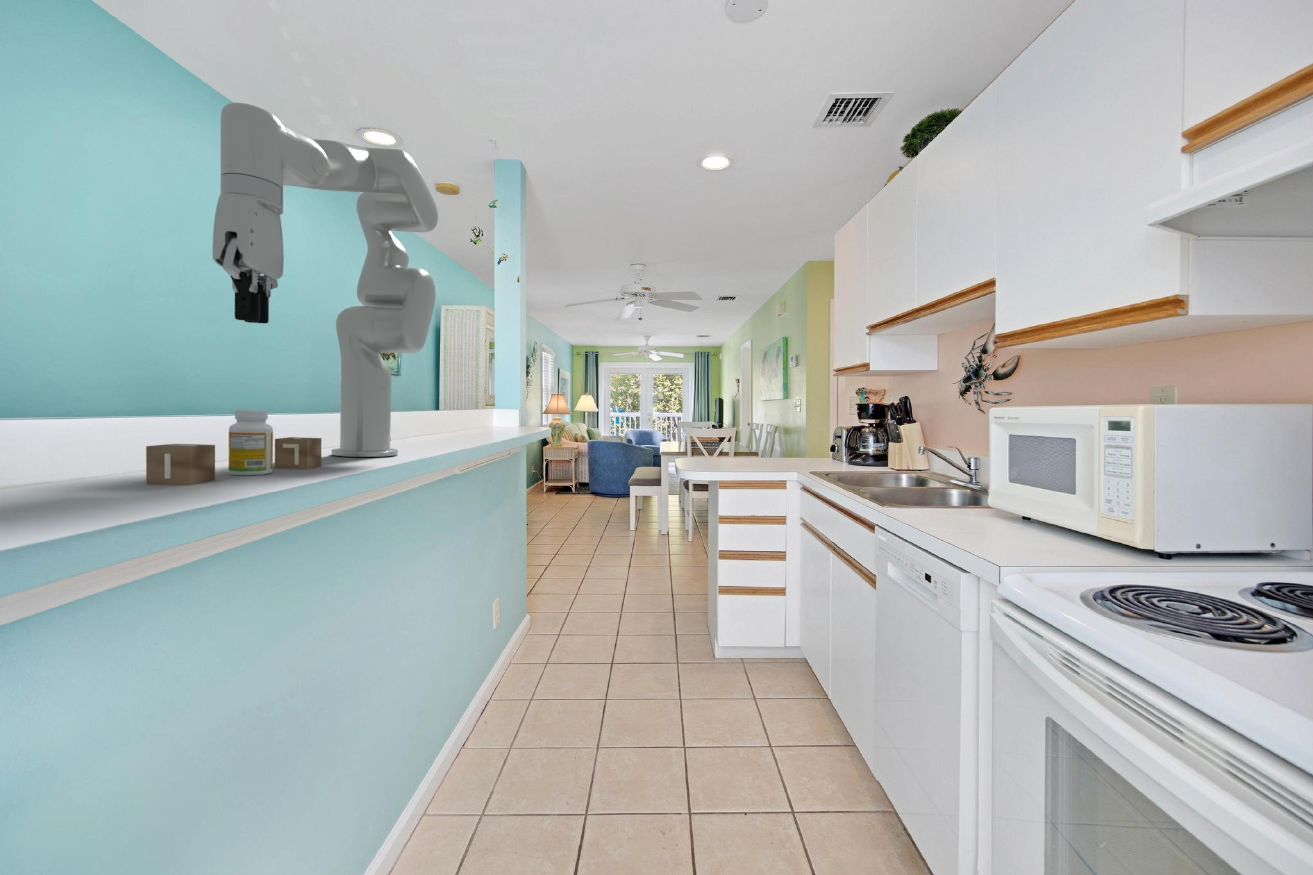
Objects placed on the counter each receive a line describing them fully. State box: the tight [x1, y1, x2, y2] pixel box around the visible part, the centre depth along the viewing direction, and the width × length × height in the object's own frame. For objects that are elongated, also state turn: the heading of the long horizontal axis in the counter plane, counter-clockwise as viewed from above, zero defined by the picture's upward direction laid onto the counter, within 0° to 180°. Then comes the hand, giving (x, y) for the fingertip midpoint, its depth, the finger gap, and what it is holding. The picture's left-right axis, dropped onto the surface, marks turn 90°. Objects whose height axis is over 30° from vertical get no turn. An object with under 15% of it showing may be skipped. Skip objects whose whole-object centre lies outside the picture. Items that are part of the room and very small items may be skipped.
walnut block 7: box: [274, 436, 322, 470], centre depth 93 cm, size 5×5×5 cm
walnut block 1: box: [145, 443, 216, 486], centre depth 73 cm, size 5×5×5 cm
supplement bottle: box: [228, 409, 274, 476], centre depth 83 cm, size 5×5×10 cm
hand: (251, 320), depth 82 cm, fingers closed
